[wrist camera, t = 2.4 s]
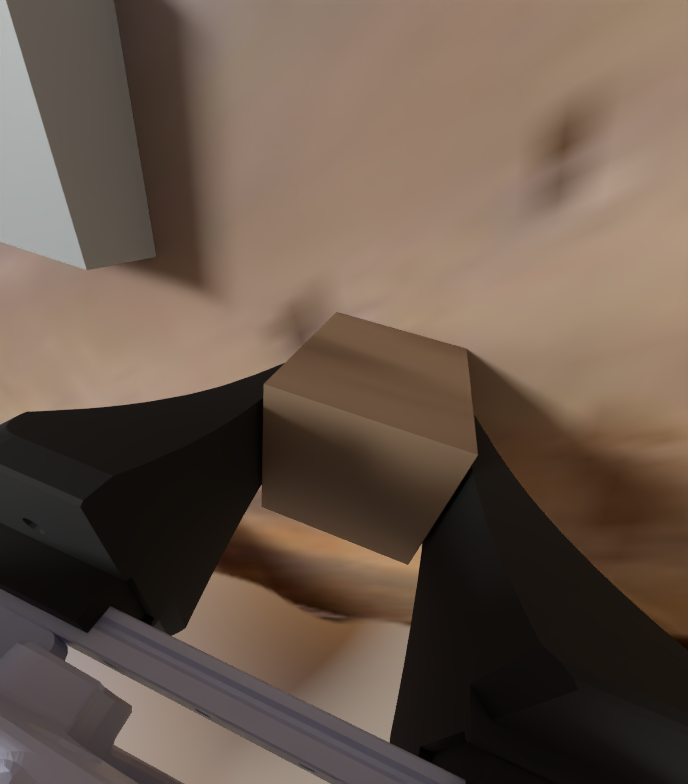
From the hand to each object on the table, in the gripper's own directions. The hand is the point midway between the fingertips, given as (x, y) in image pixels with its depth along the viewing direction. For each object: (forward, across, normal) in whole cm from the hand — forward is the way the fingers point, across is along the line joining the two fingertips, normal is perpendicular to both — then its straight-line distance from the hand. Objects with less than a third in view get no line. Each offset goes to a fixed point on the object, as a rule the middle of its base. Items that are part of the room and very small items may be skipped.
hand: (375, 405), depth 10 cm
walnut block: (+1, 0, 0) cm, 1 cm away
